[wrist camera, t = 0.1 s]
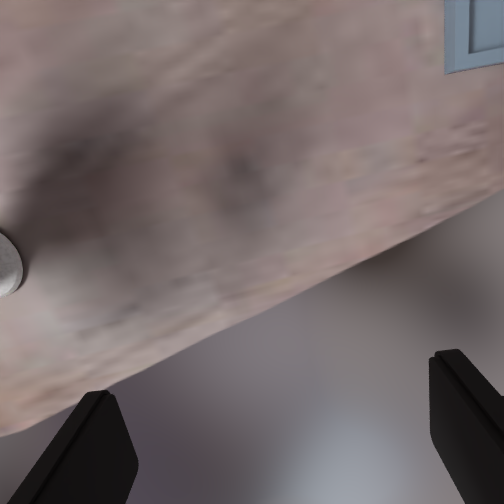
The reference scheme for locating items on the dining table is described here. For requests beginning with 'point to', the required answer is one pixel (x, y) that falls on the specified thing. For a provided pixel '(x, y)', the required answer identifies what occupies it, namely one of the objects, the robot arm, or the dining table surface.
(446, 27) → the tray
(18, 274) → the table lamp
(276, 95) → the dining table surface
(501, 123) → the dining table surface
